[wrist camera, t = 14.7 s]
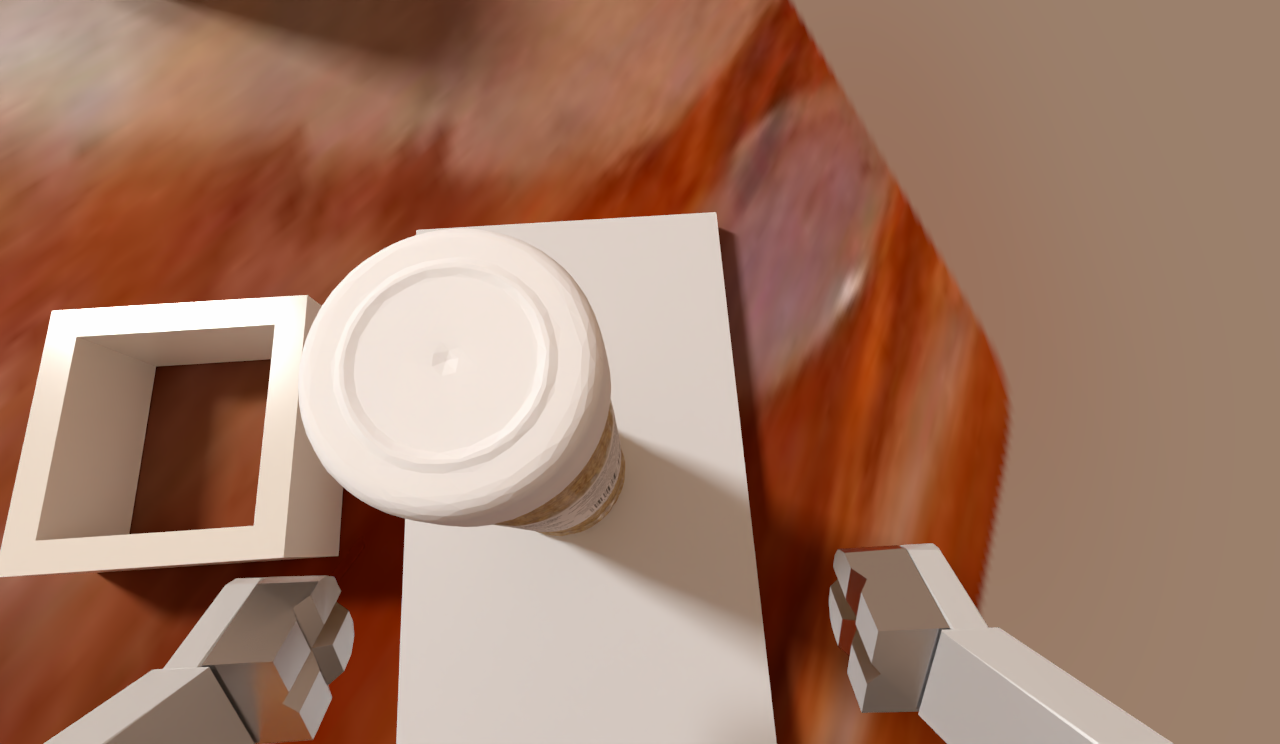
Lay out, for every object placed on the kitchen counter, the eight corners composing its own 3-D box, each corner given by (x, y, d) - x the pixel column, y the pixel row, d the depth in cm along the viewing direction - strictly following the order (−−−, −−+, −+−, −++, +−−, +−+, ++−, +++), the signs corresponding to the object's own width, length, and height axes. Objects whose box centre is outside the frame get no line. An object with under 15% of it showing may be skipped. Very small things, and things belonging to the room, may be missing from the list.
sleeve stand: (338, 555, 22) (283, 557, 18) (94, 572, 22) (-6, 577, 18) (353, 330, 24) (307, 295, 21) (134, 343, 24) (52, 310, 21)
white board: (774, 770, 20) (780, 781, 19) (405, 798, 20) (393, 811, 19) (713, 224, 25) (716, 212, 24) (424, 242, 25) (416, 230, 24)
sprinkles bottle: (549, 386, 23) (424, 166, 10) (651, 454, 22) (666, 317, 9) (472, 490, 21) (215, 401, 9) (577, 566, 21) (470, 594, 8)
